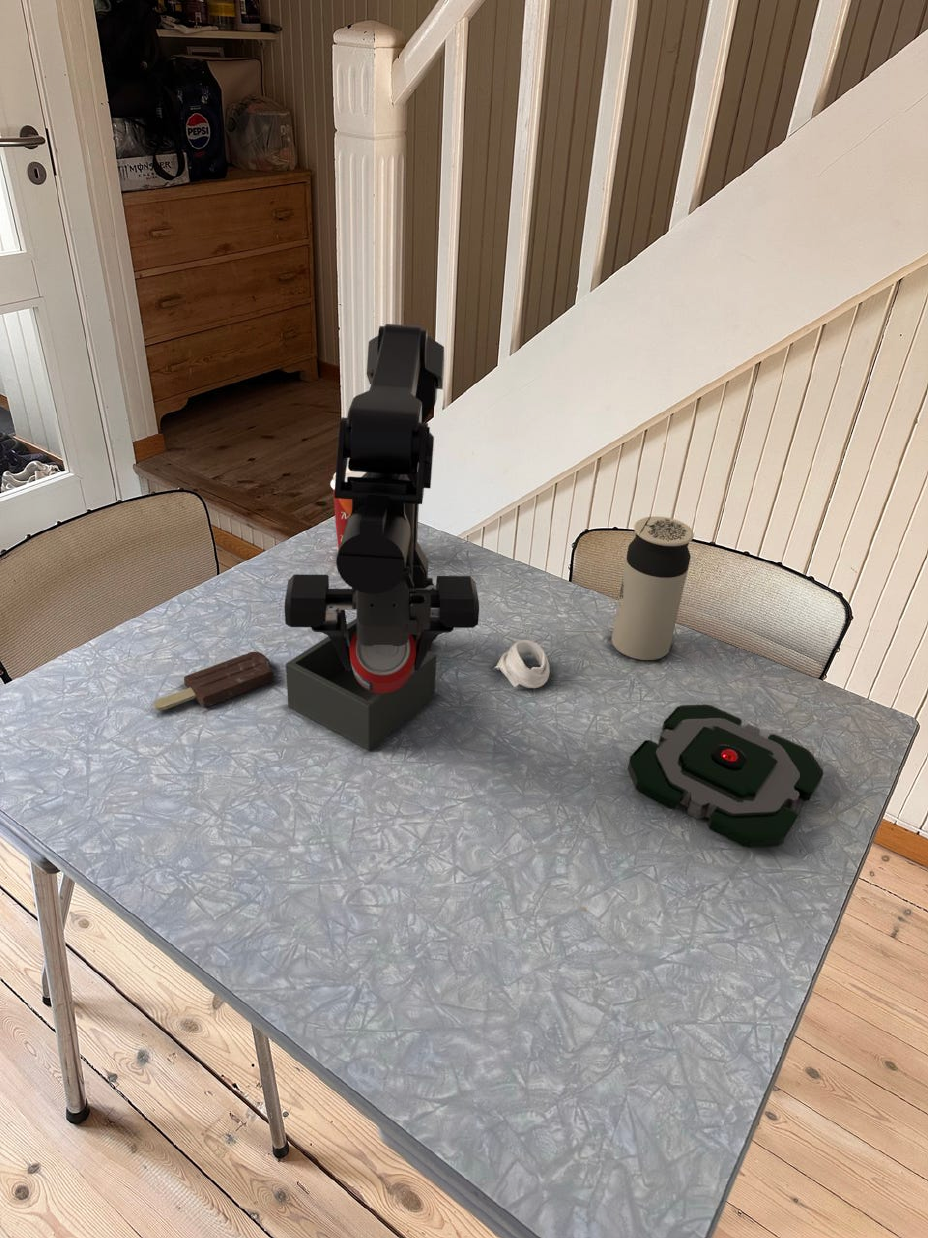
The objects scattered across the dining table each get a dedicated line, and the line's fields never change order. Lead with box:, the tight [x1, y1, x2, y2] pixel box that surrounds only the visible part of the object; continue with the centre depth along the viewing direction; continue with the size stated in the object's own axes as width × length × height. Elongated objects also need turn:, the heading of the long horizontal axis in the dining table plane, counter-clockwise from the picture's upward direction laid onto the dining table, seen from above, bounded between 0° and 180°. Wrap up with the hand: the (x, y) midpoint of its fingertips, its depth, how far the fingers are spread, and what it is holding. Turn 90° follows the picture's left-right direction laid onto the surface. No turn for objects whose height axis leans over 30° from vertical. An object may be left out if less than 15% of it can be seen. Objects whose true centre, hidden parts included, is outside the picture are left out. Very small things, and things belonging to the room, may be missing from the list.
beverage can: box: [349, 631, 416, 694], centre depth 91 cm, size 7×7×12 cm
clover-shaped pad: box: [627, 703, 824, 849], centre depth 96 cm, size 18×18×5 cm
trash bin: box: [285, 618, 438, 752], centre depth 104 cm, size 13×13×6 cm
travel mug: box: [611, 515, 695, 661], centre depth 115 cm, size 8×8×18 cm
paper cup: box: [330, 467, 366, 551], centre depth 131 cm, size 8×8×14 cm
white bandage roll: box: [492, 639, 551, 689], centre depth 111 cm, size 8×7×5 cm
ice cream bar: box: [153, 651, 275, 711], centre depth 106 cm, size 5×2×15 cm
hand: (382, 668), depth 90 cm, fingers closed on beverage can, 7 cm apart
